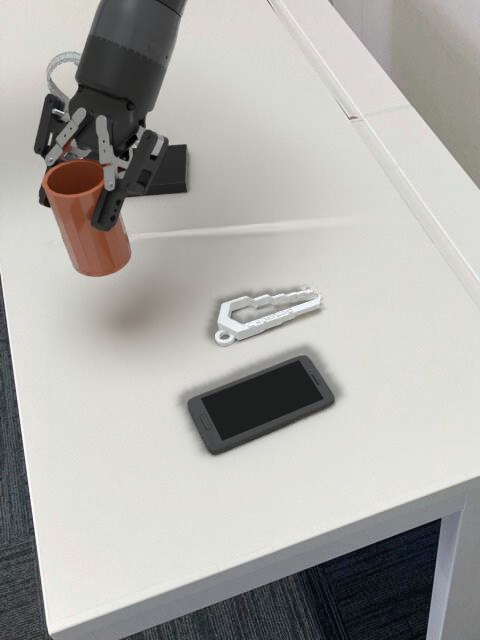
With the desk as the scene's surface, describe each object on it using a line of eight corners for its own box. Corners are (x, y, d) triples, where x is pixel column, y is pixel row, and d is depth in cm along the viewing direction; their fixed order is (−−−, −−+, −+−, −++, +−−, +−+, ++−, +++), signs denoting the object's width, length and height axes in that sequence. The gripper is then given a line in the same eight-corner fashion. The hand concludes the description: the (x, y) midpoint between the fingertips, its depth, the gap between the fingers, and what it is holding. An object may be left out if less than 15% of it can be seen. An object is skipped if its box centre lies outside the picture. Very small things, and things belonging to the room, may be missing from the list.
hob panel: (82, 209, 101) (75, 190, 99) (89, 169, 107) (83, 150, 105) (189, 201, 103) (185, 181, 100) (190, 162, 109) (186, 142, 106)
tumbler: (68, 279, 78) (37, 199, 71) (75, 240, 82) (47, 161, 75) (129, 274, 78) (105, 194, 71) (133, 235, 83) (111, 156, 75)
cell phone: (185, 404, 80) (184, 399, 79) (307, 356, 84) (306, 352, 83) (211, 456, 75) (210, 452, 75) (337, 403, 80) (337, 399, 79)
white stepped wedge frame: (308, 284, 92) (307, 273, 90) (326, 310, 89) (325, 300, 87) (204, 319, 88) (202, 308, 87) (219, 348, 85) (217, 338, 84)
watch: (119, 130, 114) (101, 60, 106) (63, 140, 112) (40, 69, 104) (115, 111, 118) (97, 41, 109) (61, 120, 116) (38, 50, 108)
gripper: (211, 83, 73) (153, 248, 76) (99, 46, 78) (48, 202, 81) (164, 53, 66) (102, 236, 69) (45, 15, 72) (-10, 187, 74)
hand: (73, 217), depth 75 cm, fingers closed on tumbler, 6 cm apart
